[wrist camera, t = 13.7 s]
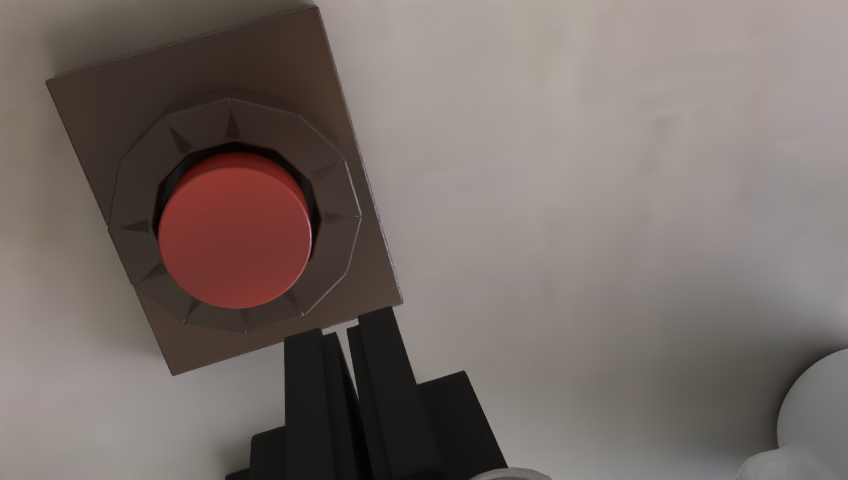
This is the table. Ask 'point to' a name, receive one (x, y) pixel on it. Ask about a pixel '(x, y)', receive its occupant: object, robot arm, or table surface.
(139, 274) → the button block
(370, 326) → the robot arm
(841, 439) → the cup
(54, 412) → the table surface
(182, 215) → the button
